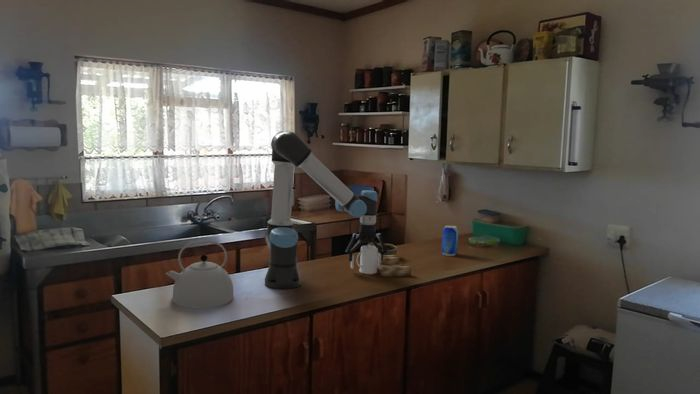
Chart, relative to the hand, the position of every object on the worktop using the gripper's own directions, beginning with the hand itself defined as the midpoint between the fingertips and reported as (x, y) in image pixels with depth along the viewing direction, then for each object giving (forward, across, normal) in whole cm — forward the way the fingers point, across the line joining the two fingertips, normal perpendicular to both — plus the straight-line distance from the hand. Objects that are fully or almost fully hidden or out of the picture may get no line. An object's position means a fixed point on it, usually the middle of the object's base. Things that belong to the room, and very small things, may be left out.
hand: (365, 267), depth 241 cm
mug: (+2, 0, 0) cm, 2 cm away
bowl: (+2, +16, +25) cm, 30 cm away
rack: (+2, +13, +3) cm, 14 cm away
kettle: (+3, -74, -28) cm, 79 cm away
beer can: (+2, +57, +29) cm, 64 cm away
